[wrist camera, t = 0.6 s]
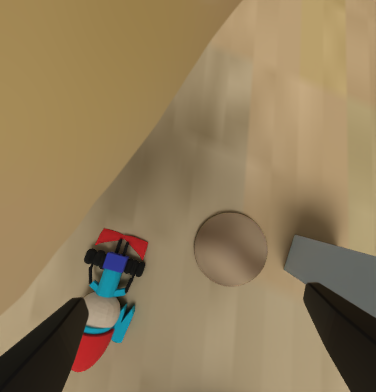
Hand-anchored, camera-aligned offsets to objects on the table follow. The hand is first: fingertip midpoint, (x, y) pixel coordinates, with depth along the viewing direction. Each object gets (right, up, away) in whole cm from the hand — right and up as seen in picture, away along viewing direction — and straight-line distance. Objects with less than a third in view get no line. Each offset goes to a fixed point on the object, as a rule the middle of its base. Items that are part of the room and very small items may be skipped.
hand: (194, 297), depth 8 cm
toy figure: (-10, -8, +17) cm, 21 cm away
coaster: (+5, -3, +16) cm, 17 cm away
